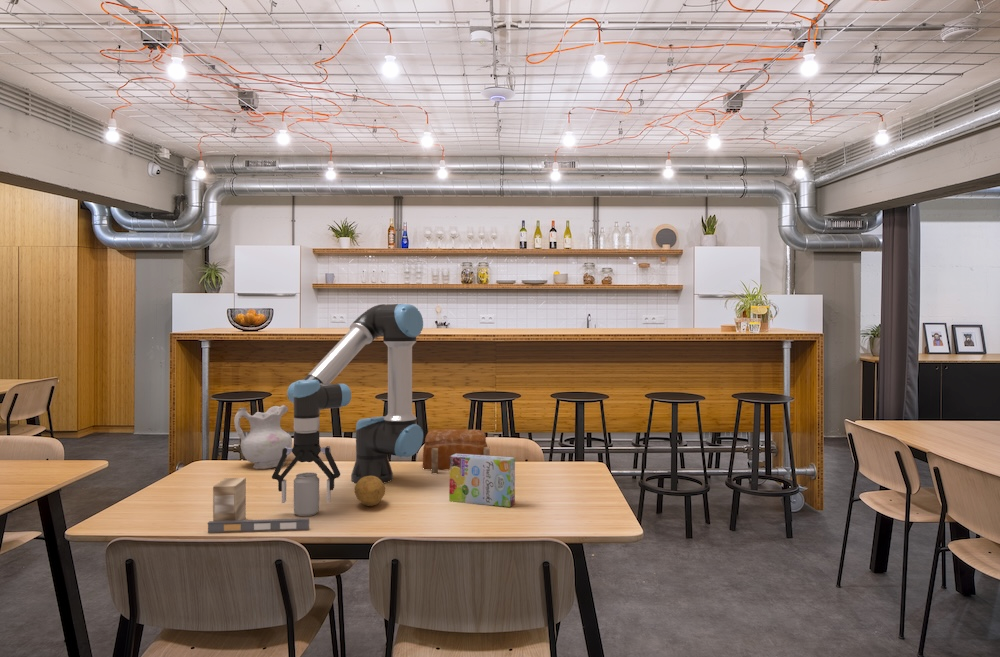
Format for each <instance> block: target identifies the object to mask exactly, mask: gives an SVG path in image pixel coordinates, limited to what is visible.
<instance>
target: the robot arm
mask: <svg viewBox="0 0 1000 657" xmlns="http://www.w3.org/2000/svg"><path fill="white" fill-rule="evenodd" d="M423 319H424V318H423V315H422V313H421V311H420V310H419V309H418V308H417V307H416V306H415V305H413V304H409V303H393V304H392V303H391V304H390V303H389V304H382V303H381V304H377V305H374V306H372V307H369V309H367V310H365V311H364V312H363V313H362V314H360V315H359V316H358V317H357V318H356V319H355V320H354V321H353V322H352V323H351V324H350V325H349V330H348V332H347V333H346V334H344V336H343V337H342V338H341V339H340V340H339V341H338V342H337V343H336V344H335V345H334V346H333V348H331V349H330V350H329V352H327V354H326V355H324V357H323V358H322V359H321V360H320V362H318V363H317V364H316V365H315V366H314V368H313V369H312V370H310V372H309V373H308V374H307V375H306V376H305V377H304V378H303V379H299V380H297V381H294V382H292V383H291V384H290V385H288V389H287V391H286V392H287V398H288V400H289V402H291V403H292V404H293V431H294V433H293V445H292V446H293V447H291V448H288V447H285V448H284V449H283V451H282V457H281V459H280V461H279V463H278V465H277V467H275V469H274V471H273V472H272V473H273V474H272V476H271V479H272V480H276V481H277V482H278V485H277V487H278V488H277V489H278V492H281V504H285V503H286V501H287V479H285V477H286V476H287V475H288V474H289V473H290V471H291V470H292V469H293V468H294V467H295V465H296V464H297V463H298V462H300V463H306V462H307V463H312V462H314V463H315V464H316V465H317V466H318V467H319V468H320V471H322V472H323V473H324V474H325V476H326V477H327V479H326V503H330V501H331V495H332V494H331V491H333V490H334V489H335V479H339V478H340V476H341V472H340V469H339V468H338V465H337V464H336V462H335V460H334V457H333V455H332V452H331V446H330V445H328V446H323V447H322V446H321V445H320V444H321V443H320V431H319V430H320V429H321V428H320V417H321V416H320V414H321V412H320V411H321V410H327V409H328V410H329V409H334V408H335V409H337V408H338V409H340V408H342V407H347V406H348V405H349V404H350V403H351V400H352V391H351V388H350V387H349V386H348V385H347V384H346V383H339V382H337V383H332V382H333V381H334V380H335V379H336V378H337V377H338V376H339V375H340V373H342V371H344V369H345V368H346V367H347V366H348V365H349V363H351V361H352V360H353V359H354V358H355V357H356V356H357V355H358V354H359V352H360V351H361V350H362V349H363V348H364V347H366V345H369V344H371V343H372V342H373V341H374V340H375V339H377V338H380V337H383V338H382V339H383V343H384V344H385V345H386V346H387V414H386V415H385V416H372V417H366V418H360V419H359V420H357V421H356V425H355V427H356V428H355V461H354V465H353V469H352V471H351V475H350V482H352V483H353V482H354V483H353V484H356V483H357V482H358V481H359V480H360V479H361V478H362V477H365V476H375V477H378V478H379V479H380V480H381V481H382V482H383V483H384V482H387V483H389V482H388V481H390V480H391V481H393V480H392V479H394V473H393V469H392V466H391V462H390V460H389V455H390V456H396V457H398V458H403V457H404V458H408V457H413V456H414V455H415V454H417V453H418V451H419V449H421V447H422V444H423V440H424V430H423V428H422V427H421V426H420V425H418V423H417V417H416V415H414V413H413V346H414V345H415V344H417V337H418V336H420V335H421V334H422V331H423V329H424V320H423ZM331 383H332V384H331ZM291 453H292V454H293V455H294V458H293V459H292V461H291V462H290V463H289V464H288V466H287V467H286V468H285V470H283V472H282V473H281V474H280V472H281V470H282V468H283V467H284V465H283V464H285V462H286V459H287V457H288V456H289V455H290V454H291ZM320 453H322V454H323V455H325V457H326V460H327V462H328V464H329V467H330V468H331V469H329V467H328V466H327V464H325V462H324V461H323V460H322V458H321V457H320V456H319V454H320ZM331 470H332V471H331ZM391 481H390V482H391ZM384 484H385V483H384Z"/></svg>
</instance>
